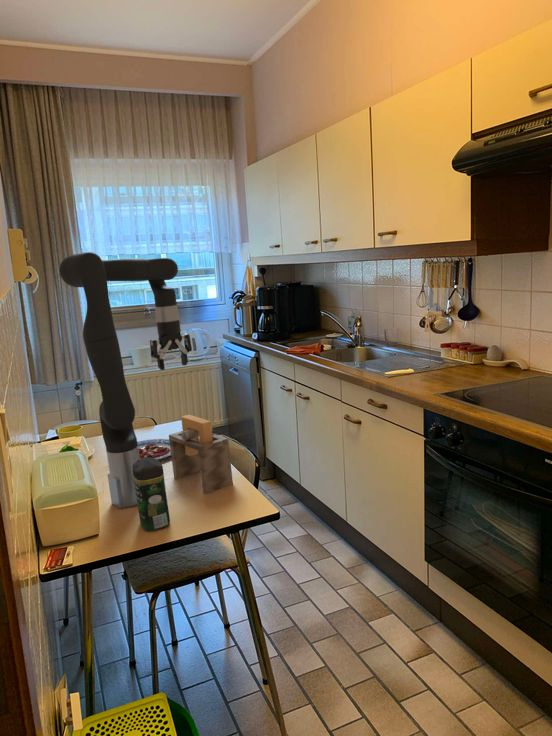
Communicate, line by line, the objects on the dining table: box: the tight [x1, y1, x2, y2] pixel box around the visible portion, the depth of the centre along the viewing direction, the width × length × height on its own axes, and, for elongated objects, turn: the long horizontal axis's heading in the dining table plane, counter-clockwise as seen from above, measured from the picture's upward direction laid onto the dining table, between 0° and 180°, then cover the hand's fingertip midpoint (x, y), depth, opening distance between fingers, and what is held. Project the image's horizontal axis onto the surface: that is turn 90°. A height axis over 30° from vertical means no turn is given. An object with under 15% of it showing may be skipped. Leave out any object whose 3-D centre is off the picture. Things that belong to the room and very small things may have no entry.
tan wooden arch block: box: [180, 414, 213, 456], centre depth 182 cm, size 3×13×13 cm, turn 40°
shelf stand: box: [168, 425, 234, 494], centre depth 183 cm, size 10×20×18 cm, turn 40°
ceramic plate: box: [137, 438, 171, 461], centre depth 214 cm, size 26×26×3 cm
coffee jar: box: [133, 457, 171, 531], centre depth 155 cm, size 10×8×19 cm
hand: (173, 367), depth 190 cm, fingers open, 8 cm apart
